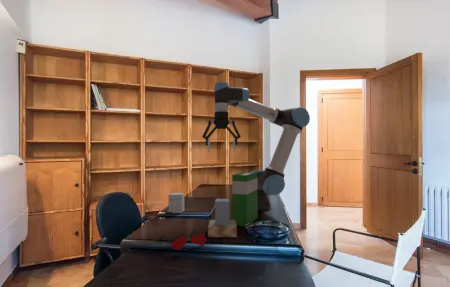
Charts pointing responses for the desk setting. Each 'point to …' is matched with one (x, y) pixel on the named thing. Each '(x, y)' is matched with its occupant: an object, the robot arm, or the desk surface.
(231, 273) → the desk surface
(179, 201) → the small box
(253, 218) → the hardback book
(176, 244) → the glasses
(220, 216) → the block
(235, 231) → the plinth
